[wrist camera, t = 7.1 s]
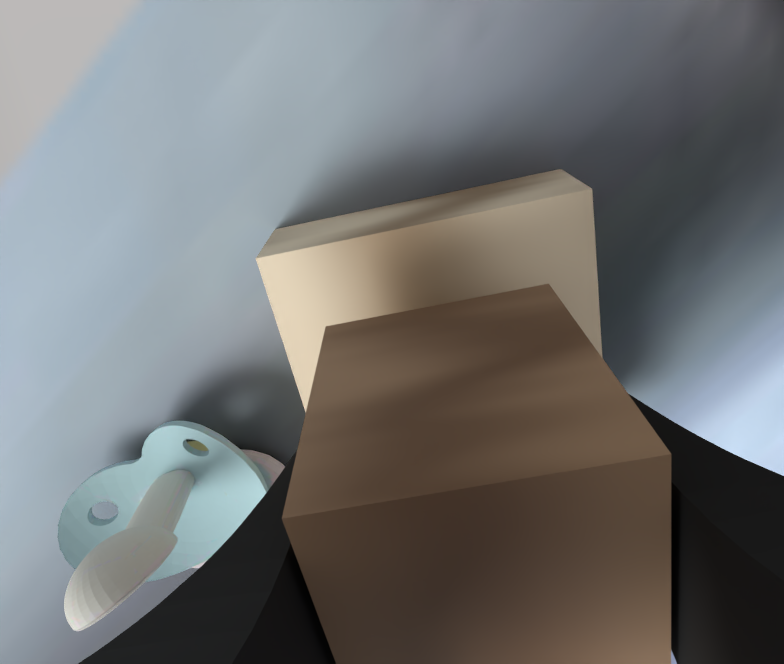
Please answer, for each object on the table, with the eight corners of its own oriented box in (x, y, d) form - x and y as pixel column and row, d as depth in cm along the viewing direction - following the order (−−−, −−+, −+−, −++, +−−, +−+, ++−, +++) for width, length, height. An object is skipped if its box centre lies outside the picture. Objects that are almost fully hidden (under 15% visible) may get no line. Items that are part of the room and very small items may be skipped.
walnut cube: (548, 283, 13) (670, 454, 7) (566, 464, 15) (671, 702, 9) (325, 326, 13) (281, 517, 8) (373, 497, 15) (366, 743, 10)
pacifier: (335, 485, 20) (212, 371, 18) (321, 652, 15) (142, 517, 13) (190, 578, 22) (62, 484, 20) (129, 757, 17) (-58, 656, 15)
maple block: (557, 166, 16) (592, 188, 13) (577, 407, 19) (609, 464, 17) (277, 225, 17) (255, 258, 14) (344, 449, 20) (337, 510, 17)
